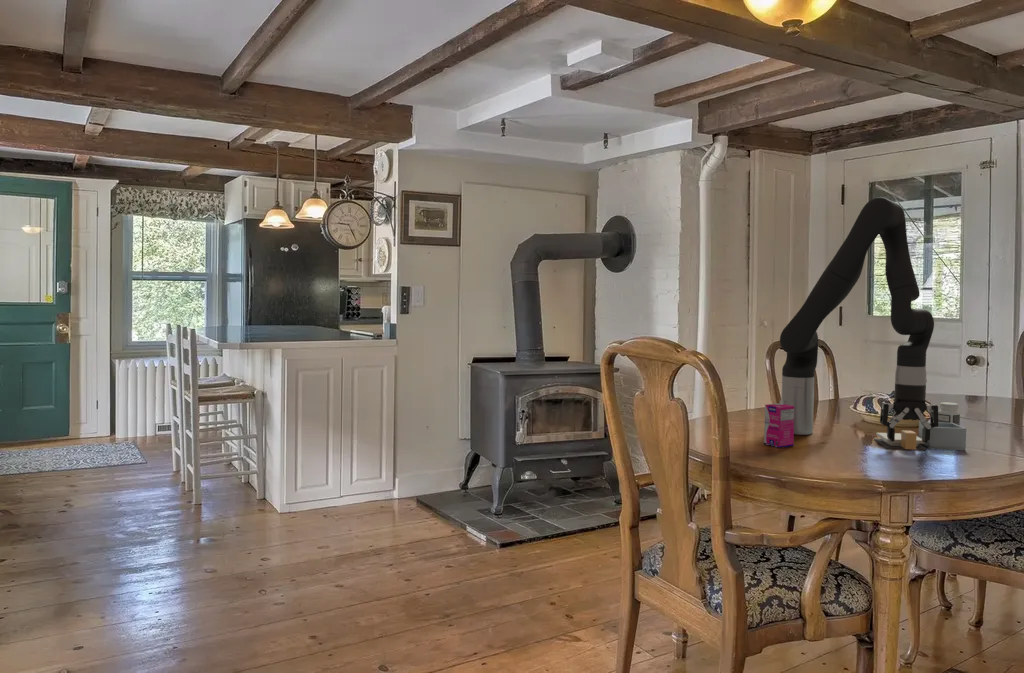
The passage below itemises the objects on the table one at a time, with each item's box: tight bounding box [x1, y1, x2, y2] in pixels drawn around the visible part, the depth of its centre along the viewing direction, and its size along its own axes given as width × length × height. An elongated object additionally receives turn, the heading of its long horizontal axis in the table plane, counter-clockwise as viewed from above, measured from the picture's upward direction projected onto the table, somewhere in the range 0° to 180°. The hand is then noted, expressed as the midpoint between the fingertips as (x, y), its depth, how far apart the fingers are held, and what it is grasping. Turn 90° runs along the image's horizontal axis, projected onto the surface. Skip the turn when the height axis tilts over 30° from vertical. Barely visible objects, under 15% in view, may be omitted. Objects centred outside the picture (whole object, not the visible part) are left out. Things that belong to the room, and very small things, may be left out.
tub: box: [918, 421, 967, 451], centre depth 215 cm, size 9×9×6 cm
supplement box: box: [763, 402, 795, 449], centre depth 214 cm, size 6×6×12 cm
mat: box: [873, 438, 927, 451], centre depth 217 cm, size 10×12×1 cm
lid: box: [876, 429, 925, 451], centre depth 214 cm, size 14×10×5 cm
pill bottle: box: [938, 401, 961, 426], centre depth 230 cm, size 6×6×10 cm
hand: (908, 441), depth 210 cm, fingers open, 8 cm apart
